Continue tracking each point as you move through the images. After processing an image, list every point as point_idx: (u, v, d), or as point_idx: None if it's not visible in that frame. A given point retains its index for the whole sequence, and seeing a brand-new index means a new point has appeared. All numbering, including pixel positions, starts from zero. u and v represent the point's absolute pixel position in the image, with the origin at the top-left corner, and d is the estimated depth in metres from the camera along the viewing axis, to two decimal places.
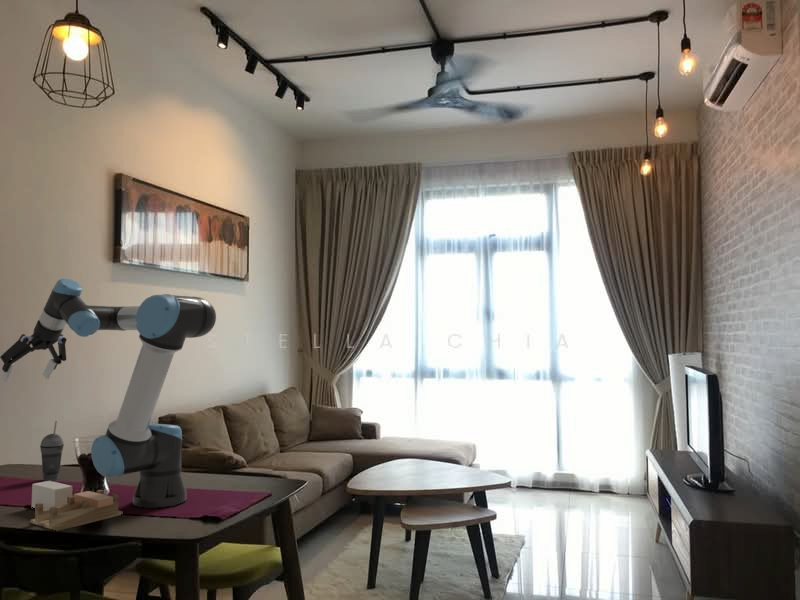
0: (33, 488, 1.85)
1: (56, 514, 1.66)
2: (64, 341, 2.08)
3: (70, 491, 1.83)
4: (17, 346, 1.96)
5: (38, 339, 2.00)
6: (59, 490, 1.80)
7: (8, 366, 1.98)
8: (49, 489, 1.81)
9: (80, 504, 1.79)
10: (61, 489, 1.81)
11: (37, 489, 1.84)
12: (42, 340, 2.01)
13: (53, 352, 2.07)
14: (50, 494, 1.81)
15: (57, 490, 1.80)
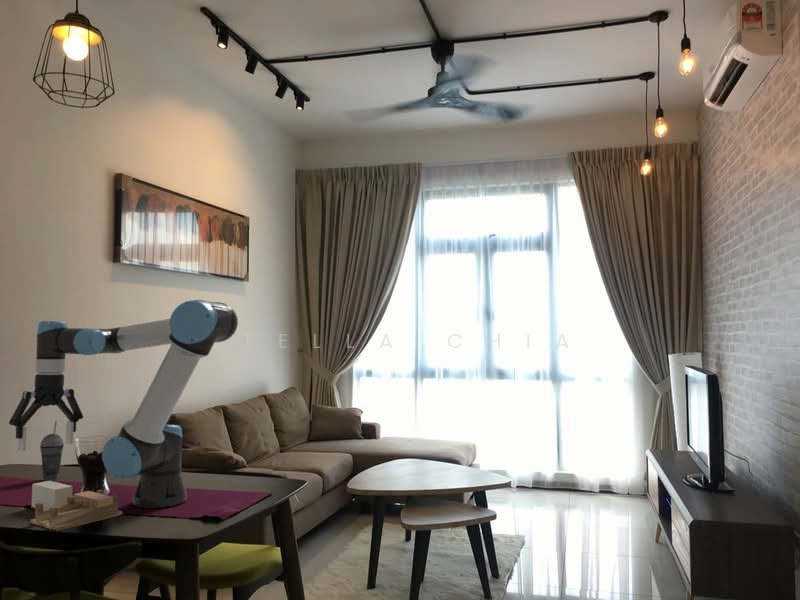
0: (33, 488, 1.85)
1: (56, 514, 1.66)
2: (72, 392, 1.93)
3: (70, 491, 1.83)
4: (22, 404, 1.82)
5: (42, 392, 1.86)
6: (59, 490, 1.80)
7: (21, 431, 1.81)
8: (49, 489, 1.81)
9: (80, 504, 1.79)
10: (61, 489, 1.81)
11: (37, 489, 1.84)
12: (47, 393, 1.87)
13: (65, 408, 1.91)
14: (50, 494, 1.80)
15: (57, 490, 1.80)
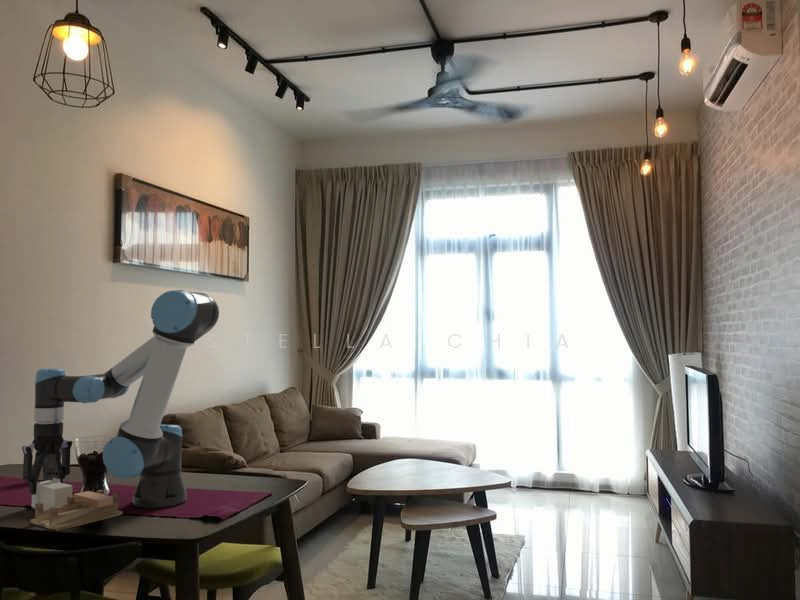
0: None
1: (56, 514, 1.66)
2: (70, 444, 1.91)
3: (70, 491, 1.83)
4: (26, 460, 1.81)
5: (40, 441, 1.84)
6: (59, 490, 1.80)
7: (34, 486, 1.83)
8: (49, 489, 1.81)
9: (80, 504, 1.79)
10: (61, 489, 1.81)
11: None
12: (44, 442, 1.85)
13: (57, 460, 1.88)
14: (50, 494, 1.80)
15: (57, 490, 1.80)
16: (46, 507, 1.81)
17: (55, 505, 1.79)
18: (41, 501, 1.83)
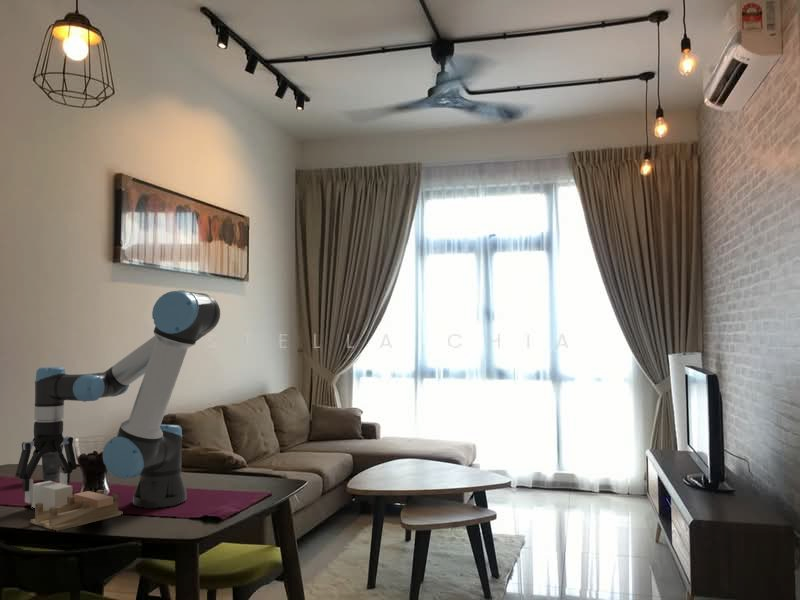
0: (33, 488, 1.85)
1: (56, 514, 1.66)
2: (71, 441, 1.91)
3: (70, 491, 1.83)
4: (23, 456, 1.81)
5: (40, 439, 1.84)
6: (59, 490, 1.80)
7: (27, 483, 1.81)
8: (49, 489, 1.81)
9: (80, 504, 1.79)
10: (61, 489, 1.81)
11: (37, 489, 1.84)
12: (45, 440, 1.85)
13: (61, 457, 1.89)
14: (50, 494, 1.80)
15: (57, 490, 1.80)
16: (46, 508, 1.81)
17: (55, 506, 1.79)
18: (41, 502, 1.83)
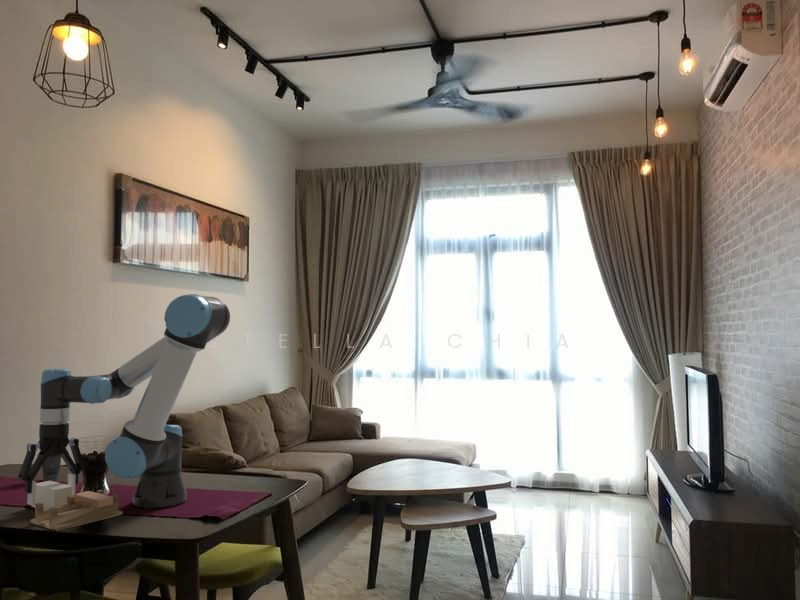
0: None
1: (56, 514, 1.66)
2: (77, 442, 1.90)
3: (70, 491, 1.83)
4: (28, 457, 1.79)
5: (46, 442, 1.83)
6: (59, 490, 1.80)
7: (30, 485, 1.79)
8: (49, 489, 1.81)
9: (80, 504, 1.79)
10: (61, 489, 1.81)
11: (37, 489, 1.84)
12: (51, 443, 1.84)
13: (68, 458, 1.88)
14: (50, 494, 1.80)
15: (57, 490, 1.80)
16: (46, 508, 1.81)
17: (55, 506, 1.79)
18: (41, 501, 1.83)
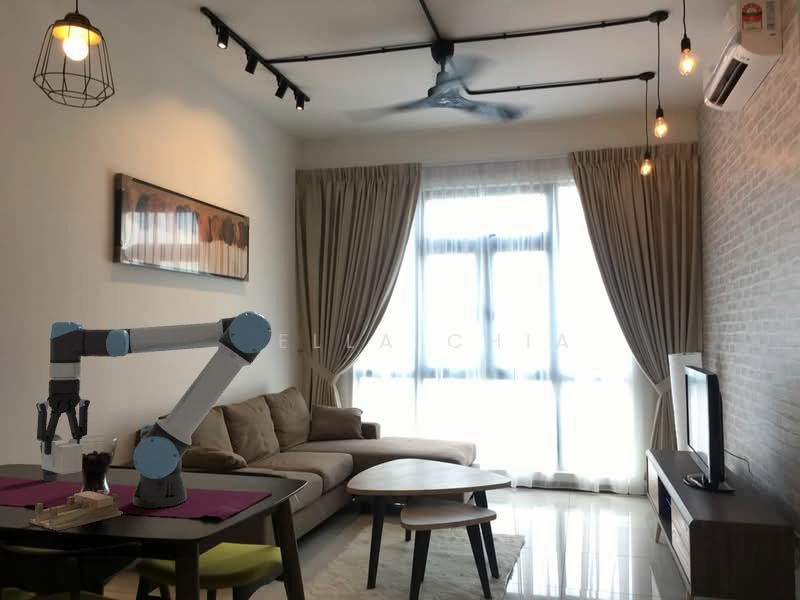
0: (43, 447, 1.76)
1: (56, 514, 1.66)
2: (87, 404, 1.79)
3: (80, 450, 1.73)
4: (41, 417, 1.70)
5: (55, 398, 1.72)
6: (68, 448, 1.70)
7: (49, 446, 1.71)
8: (58, 447, 1.71)
9: (80, 504, 1.79)
10: (70, 447, 1.71)
11: None
12: (60, 399, 1.73)
13: (74, 419, 1.76)
14: (59, 452, 1.70)
15: (66, 448, 1.70)
16: (55, 467, 1.71)
17: (64, 464, 1.69)
18: None
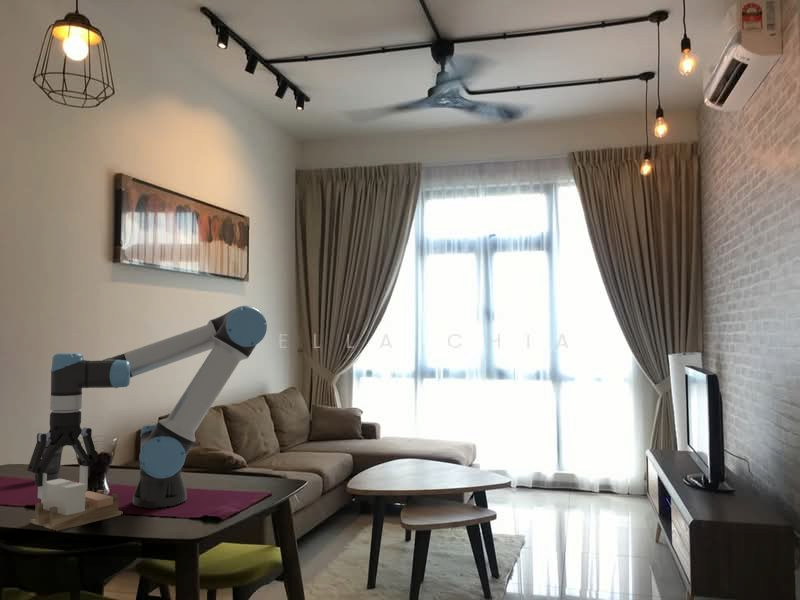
0: None
1: (56, 514, 1.66)
2: (89, 432, 1.78)
3: (83, 489, 1.71)
4: (38, 448, 1.67)
5: (57, 431, 1.70)
6: (72, 488, 1.68)
7: (40, 478, 1.67)
8: (61, 487, 1.68)
9: None
10: (74, 487, 1.68)
11: (47, 487, 1.72)
12: (62, 432, 1.71)
13: (80, 449, 1.75)
14: (62, 493, 1.68)
15: (69, 488, 1.68)
16: (57, 507, 1.69)
17: (67, 505, 1.67)
18: (52, 501, 1.70)
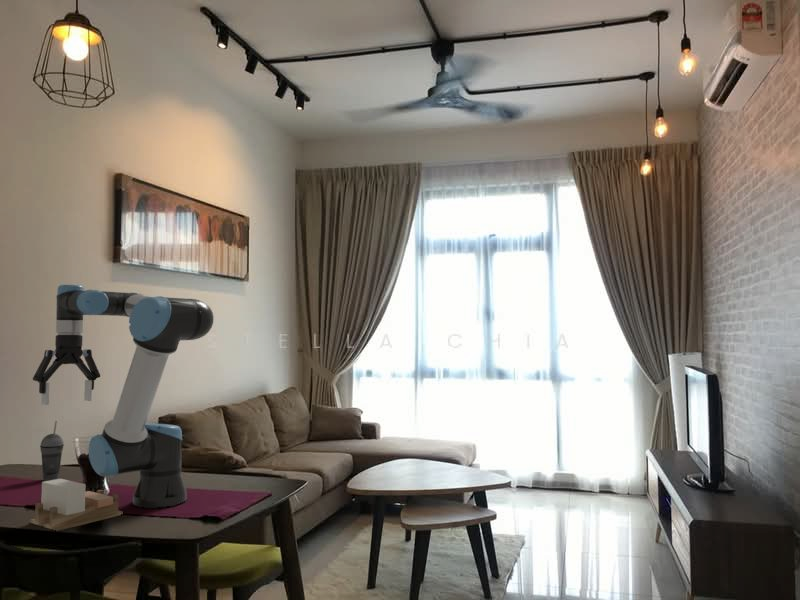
0: (43, 486, 1.73)
1: (56, 514, 1.66)
2: (90, 352, 2.06)
3: (83, 489, 1.71)
4: (44, 361, 1.95)
5: (62, 351, 1.99)
6: (72, 488, 1.68)
7: (44, 386, 1.94)
8: (61, 487, 1.68)
9: None
10: (74, 487, 1.68)
11: (47, 487, 1.72)
12: (67, 352, 2.00)
13: (83, 366, 2.04)
14: (62, 493, 1.68)
15: (69, 488, 1.68)
16: (57, 507, 1.69)
17: (67, 505, 1.67)
18: (52, 501, 1.70)
